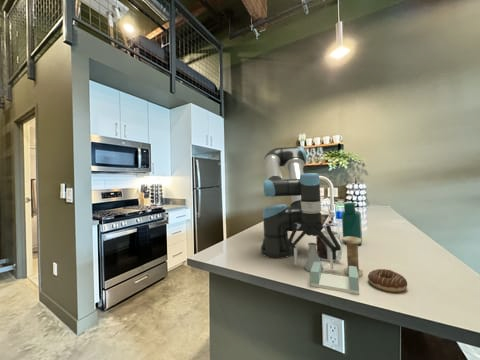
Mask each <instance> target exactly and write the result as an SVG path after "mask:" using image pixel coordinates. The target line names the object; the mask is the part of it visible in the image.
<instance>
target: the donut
mask: <svg viewBox="0 0 480 360" xmlns="http://www.w3.org/2000/svg"><path fill="white" fill-rule="evenodd" d="M367 279H368V281H369V283H370V284H371V285H372V286H374V287H375V288H377V289H379V290H381V291H385V292H391V293H398V292H399V293H400V292H403V291H405V290H406V289H407V288H408V281H407V279H406V278H405V277H404V276H403V275H402V274H400V273H398V272H396V271H393V270H390V269H387V268H386V269H385V268H383V269H382V268H378V269H372V270H371V271H369V272H368V274H367Z"/></svg>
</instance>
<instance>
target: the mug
mask: <svg viewBox="0 0 480 360" xmlns="http://www.w3.org/2000/svg"><path fill="white" fill-rule="evenodd" d="M331 231H332V232H333V234H334V236H335V238H336V239H337V241H338V243H339V245H340V246H341V250H338V251H336V260H333V262H337V261H340V260H341V257H342V255H343V247H342V243H341V241H340V239H341V238H340V237H341V236H340V235H341V234H340V233H339V232H338V231H335V230H331ZM321 232H322V233H323V234H324V235H325V236H326V238H327V239H328V240H329V241H330V242H331V243H332V244H333V245H334V246H335V244H334V243H333V241H332V239H331V237H330V236H329V234H328V231H326V230H325V229H322V230H321ZM315 239H316V242H315V243H316V244H317V245H316V250H317V254H318V257H319V259H320V260H322V261H328V262H331V261H330V250H331V249H330V248H329V247H328V245H327V244H326V243H325V242H324V241H323V240H322V239H321V238H320V237H319V236H318V235H317V236H315ZM335 247H336V246H335Z"/></svg>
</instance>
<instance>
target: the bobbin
mask: <svg viewBox="0 0 480 360" xmlns="http://www.w3.org/2000/svg"><path fill="white" fill-rule="evenodd" d="M343 241H344V242H346V243H347V244H346V258H347V259H346V260H347V267H345V268H344V269H343V270H344V274H345V275H346V276H347V277H349V266H355V267H357V272H358V278H361V277H363V275H364V274H363V273H364V272H363V270H361V269H360V266H359V247H358V243H361V239H360V238H358V237H352V236H346V237H343V236H342V242H343Z"/></svg>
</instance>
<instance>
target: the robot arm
mask: <svg viewBox="0 0 480 360" xmlns="http://www.w3.org/2000/svg"><path fill="white" fill-rule="evenodd" d="M307 160H308V159H307V152H306V150H305V148H304V147H303V146H288V147H276V148H275V147H274V148H273V149H270V151H268V152H267V153H266V154H265V156H264V158H263V165H264V167H265V172H266V179H265V180H264V181H263V195H264V196H265V197H273V198H274V197H291V203H290V204H289V207H288V205H287V204H285V203H283V204H280V203H279V204H274V205H269V206H266V207H264V208H263V211H262V215H263V216H262V219H263V240H262V243H261V248H260V254H261V255H262V254H263V255H262V256H264V255H265V256H264V257H267V256H268V257H267V258H271V257H275V258H274V259H280V258H281V259H283V258H286V257H287V256H288V257H290V256H293V259H294V260H293V261H294V265H297V264H298V260H299V259H298V246H297V245H298V243H299V242H300V241H301V240H302V238H303V237H304V236H305V235H306V236H308V237H309V236H312V237H316V236H317V235H318V236H319V237H320V238H321V239H322V240H323V241H324V242H325V243H326V244H327V245H328V247H329V248H330V249H331V250H330V261H329V262H330V270H334V261H333V260H336V251H338V250H341V246H342V245H341V246H340V245H339V243H338V241H337V239H336V238H335V236H334V234H333V232H332V231H333V230H332V227H331V224H323V223H322V212H321V211H322V205H321V204H322V203H321V202H322V201H321V179H320V174H319V173H317V172H314V173H312V172H310V173H309V172H308V173H307V172H306V173H304V167H305V166H306V165H307ZM281 167H283V168H284V169H285V171H287V174H288V179H287V178H286V179H285V178H284V179H283V174H282V171H281ZM321 230H326V231H328V234H329V236H330V237H331V239H332V241H333V243H334V244H335V246H336V247H335V246H334V245H333V244H332V243H331V242H330V241H329V240H328V239H327V238H326V236H325V235H324V234H323V233H322V232H321ZM288 232H291V234H290V235H289V233H288ZM297 232H301V233H300V234H299V236H298V237H297V238H296V239H295V240H294V241H293V239H294V237H295V236H296V233H297ZM292 241H293V242H292ZM291 254H292V255H291ZM282 257H283V258H282ZM288 257H287V258H288Z"/></svg>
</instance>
